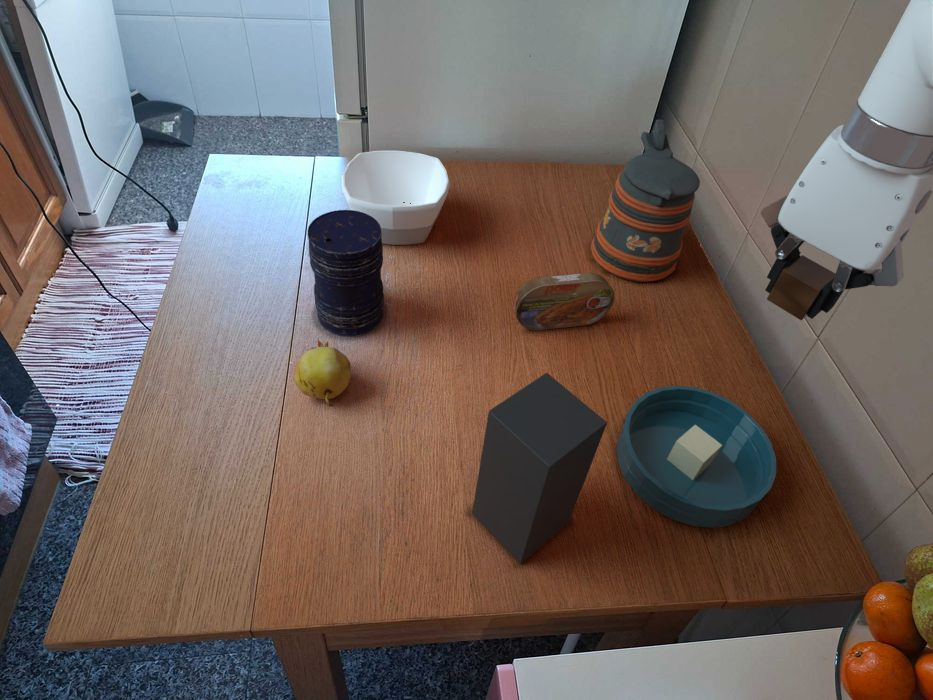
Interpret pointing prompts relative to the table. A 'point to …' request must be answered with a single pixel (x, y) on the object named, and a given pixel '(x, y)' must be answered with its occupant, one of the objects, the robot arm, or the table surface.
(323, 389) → the fruit
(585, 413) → the stand
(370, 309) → the storage jar
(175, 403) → the table surface
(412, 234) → the bowl
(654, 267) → the beer stein
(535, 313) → the tin
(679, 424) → the bowl
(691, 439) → the cream block
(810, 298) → the walnut block
